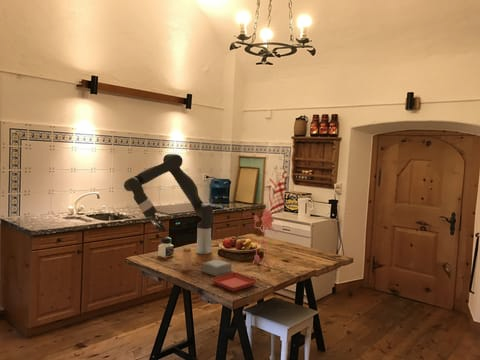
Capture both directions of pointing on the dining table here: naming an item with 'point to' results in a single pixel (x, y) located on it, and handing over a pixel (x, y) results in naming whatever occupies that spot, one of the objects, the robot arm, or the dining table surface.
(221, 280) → the plant saucer
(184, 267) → the jar
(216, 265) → the grey lidded square box
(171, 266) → the dining table surface
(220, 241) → the dining table surface
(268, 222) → the figurine
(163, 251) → the medicine bottle
